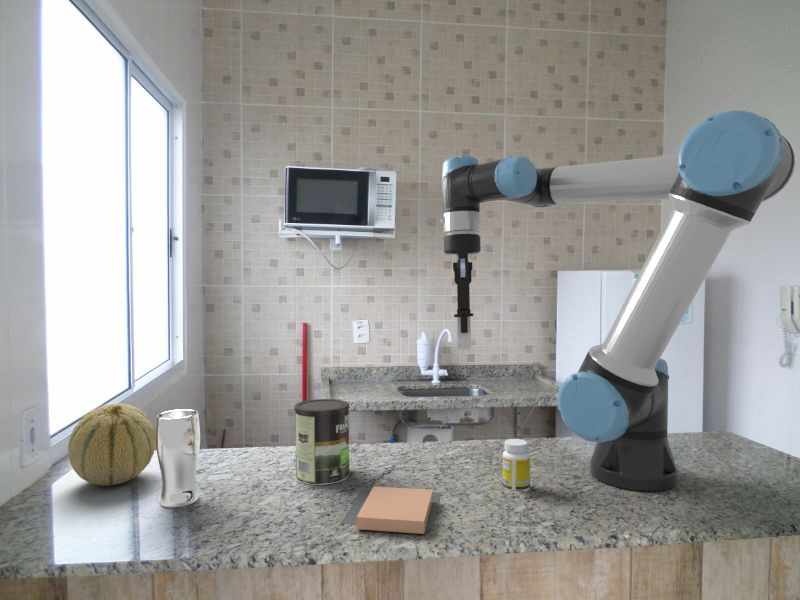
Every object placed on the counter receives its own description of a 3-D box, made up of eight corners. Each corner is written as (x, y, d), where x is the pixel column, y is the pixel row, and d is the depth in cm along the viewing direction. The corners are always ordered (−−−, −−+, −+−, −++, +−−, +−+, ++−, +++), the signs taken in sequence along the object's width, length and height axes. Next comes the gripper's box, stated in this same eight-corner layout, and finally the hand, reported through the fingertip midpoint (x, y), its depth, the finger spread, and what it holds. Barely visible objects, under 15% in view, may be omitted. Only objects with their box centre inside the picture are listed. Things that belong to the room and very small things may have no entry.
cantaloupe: (123, 464, 111) (121, 392, 110) (174, 475, 104) (172, 398, 104) (49, 489, 98) (47, 407, 97) (103, 504, 91) (100, 416, 91)
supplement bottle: (532, 485, 98) (532, 439, 98) (526, 495, 94) (527, 447, 93) (506, 481, 100) (506, 436, 100) (499, 490, 96) (499, 443, 95)
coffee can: (356, 470, 107) (355, 399, 106) (340, 490, 97) (339, 411, 96) (307, 466, 109) (306, 397, 108) (286, 486, 99) (285, 409, 98)
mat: (441, 496, 94) (441, 492, 94) (432, 533, 80) (432, 529, 80) (362, 491, 96) (362, 488, 96) (340, 527, 82) (340, 523, 82)
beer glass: (209, 495, 94) (208, 410, 94) (181, 511, 88) (179, 420, 87) (177, 490, 97) (175, 407, 96) (147, 506, 90) (145, 417, 90)
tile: (432, 489, 90) (424, 521, 78) (432, 502, 90) (424, 535, 78) (373, 486, 91) (356, 517, 79) (373, 498, 91) (356, 530, 79)
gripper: (444, 238, 118) (447, 345, 119) (442, 231, 105) (445, 352, 106) (479, 236, 117) (481, 345, 118) (481, 230, 104) (484, 352, 105)
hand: (464, 348), depth 112 cm, fingers closed
